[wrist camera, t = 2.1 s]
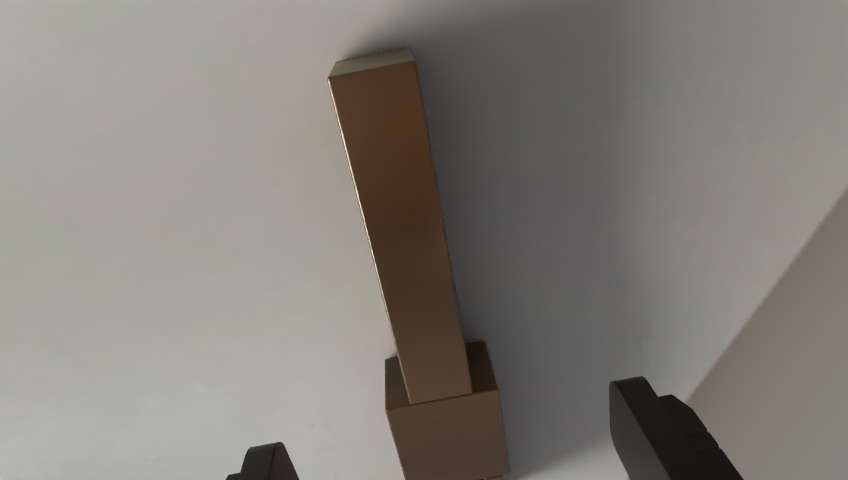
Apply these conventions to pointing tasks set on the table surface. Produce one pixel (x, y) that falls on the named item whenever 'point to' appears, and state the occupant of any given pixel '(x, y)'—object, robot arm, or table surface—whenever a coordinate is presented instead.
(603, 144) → the table surface
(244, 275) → the table surface
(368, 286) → the table surface
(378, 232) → the fork
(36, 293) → the table surface
